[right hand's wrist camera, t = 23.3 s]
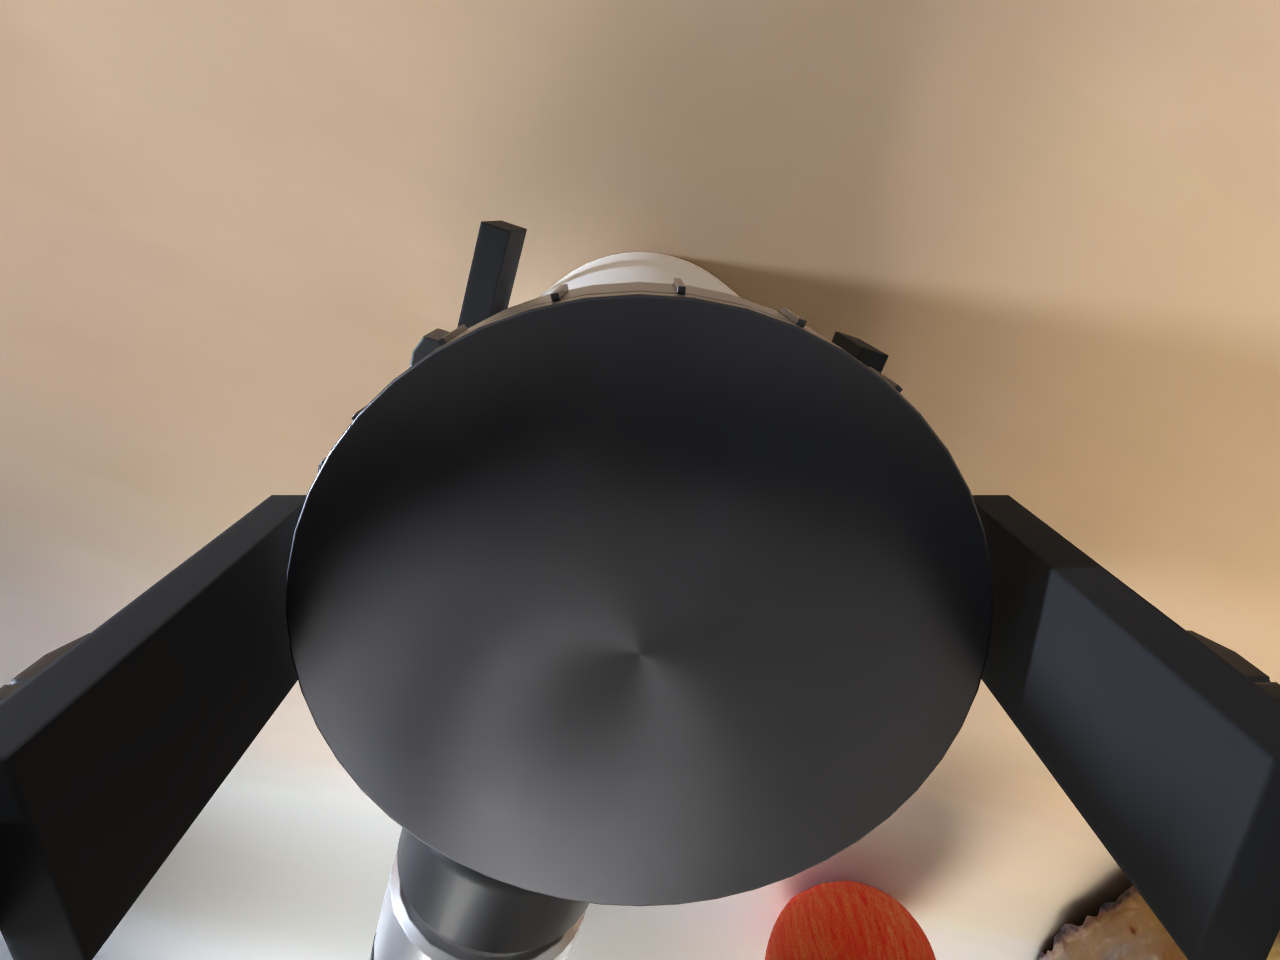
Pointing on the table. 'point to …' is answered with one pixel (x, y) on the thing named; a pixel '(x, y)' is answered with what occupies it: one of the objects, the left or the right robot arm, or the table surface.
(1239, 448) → the table surface
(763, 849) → the lid
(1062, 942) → the bread
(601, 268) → the jar
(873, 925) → the apple
